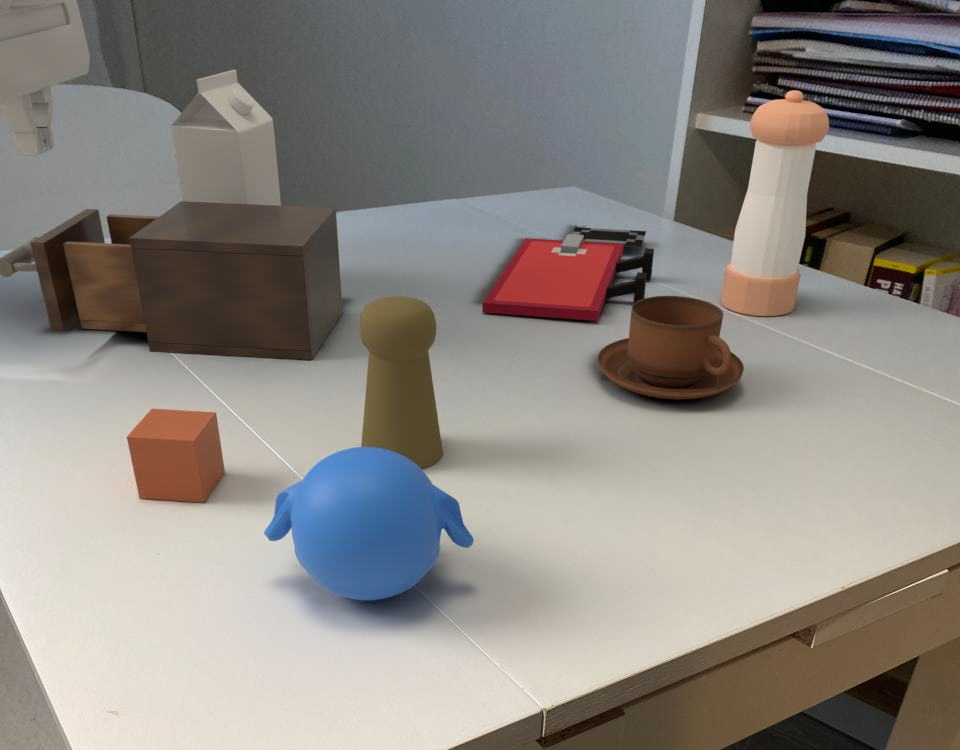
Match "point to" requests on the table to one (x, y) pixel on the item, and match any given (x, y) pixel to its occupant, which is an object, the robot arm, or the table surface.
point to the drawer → (85, 272)
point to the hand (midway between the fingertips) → (37, 152)
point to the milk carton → (226, 146)
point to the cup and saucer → (672, 350)
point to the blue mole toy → (367, 523)
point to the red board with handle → (569, 275)
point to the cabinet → (239, 279)
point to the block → (176, 455)
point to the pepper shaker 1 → (400, 379)
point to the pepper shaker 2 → (774, 208)
